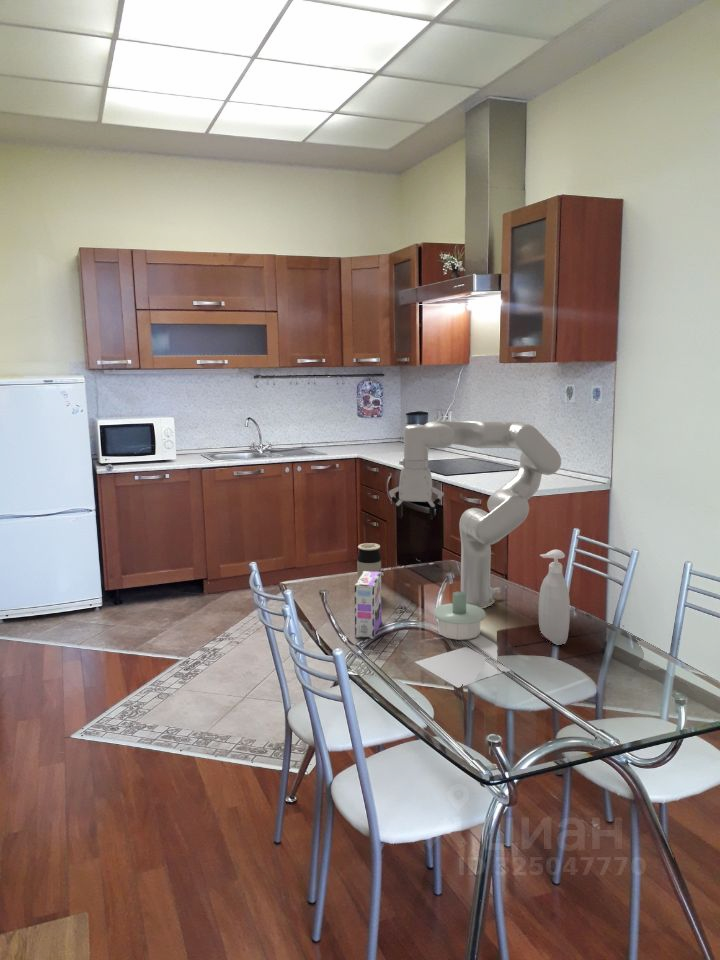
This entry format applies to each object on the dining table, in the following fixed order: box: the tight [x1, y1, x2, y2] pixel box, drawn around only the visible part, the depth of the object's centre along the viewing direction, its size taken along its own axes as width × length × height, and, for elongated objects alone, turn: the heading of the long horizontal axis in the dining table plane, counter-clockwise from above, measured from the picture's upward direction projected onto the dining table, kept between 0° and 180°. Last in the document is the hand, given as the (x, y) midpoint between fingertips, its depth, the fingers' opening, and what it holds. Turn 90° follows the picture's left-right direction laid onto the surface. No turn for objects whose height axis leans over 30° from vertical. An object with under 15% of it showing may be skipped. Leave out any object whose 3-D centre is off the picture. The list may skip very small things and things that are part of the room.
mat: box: [414, 646, 512, 689], centre depth 195 cm, size 18×18×1 cm
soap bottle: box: [537, 549, 571, 646], centre depth 210 cm, size 14×8×27 cm, turn 14°
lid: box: [433, 591, 486, 624], centre depth 216 cm, size 15×15×6 cm
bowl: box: [437, 619, 481, 641], centre depth 217 cm, size 12×12×6 cm
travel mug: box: [356, 542, 382, 580], centre depth 249 cm, size 8×8×18 cm
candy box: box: [354, 571, 383, 639], centre depth 220 cm, size 14×6×16 cm, turn 168°
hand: (415, 518), depth 233 cm, fingers open, 9 cm apart
